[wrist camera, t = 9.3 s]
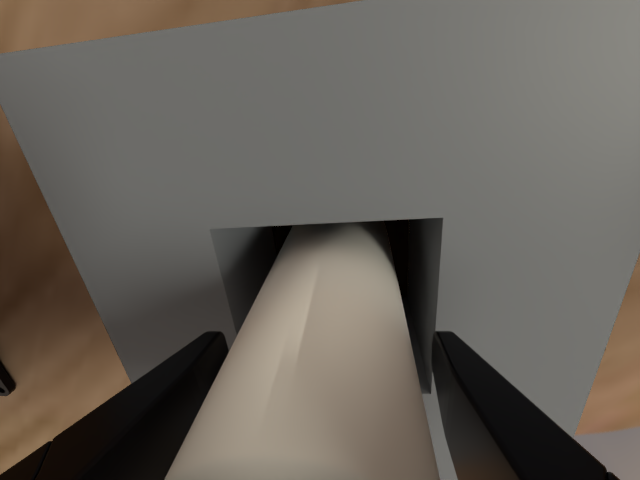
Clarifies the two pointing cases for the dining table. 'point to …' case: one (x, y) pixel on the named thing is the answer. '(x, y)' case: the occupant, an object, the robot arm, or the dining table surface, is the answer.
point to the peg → (317, 372)
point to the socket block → (355, 172)
